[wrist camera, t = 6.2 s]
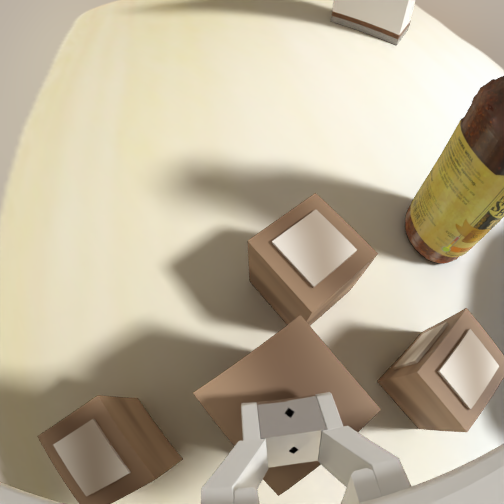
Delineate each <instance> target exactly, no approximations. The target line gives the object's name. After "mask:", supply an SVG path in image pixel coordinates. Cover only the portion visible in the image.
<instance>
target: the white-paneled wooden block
mask: <svg viewBox="0 0 504 504" xmlns="http://www.w3.org/2000/svg"><path fill="white" fill-rule="evenodd" d="M377 254H378V253H377V252H376V251H375V250H374V249H373V248H372V247H371V246H370V245H369V244H368V243H367V242H366V241H365V240H364V239H363V238H362V237H361V236H360V235H359V234H358V233H357V232H356V231H355V230H354V229H353V228H352V227H351V226H350V225H349V224H348V223H347V222H346V221H345V220H344V219H343V218H342V217H341V216H340V215H339V214H338V213H336V212H335V211H334V210H333V209H332V208H331V207H330V206H329V205H328V204H327V203H326V202H325V201H324V200H323V199H322V198H321V197H319V196H318V195H317V194H316V193H315V194H313V195H312V196H310V197H309V198H308V199H306V200H305V201H303V202H302V203H300V204H299V205H298V206H296V207H295V208H293V209H292V210H290V211H289V212H288V213H286V214H285V215H283V216H282V217H281V218H279V219H278V220H276V221H275V222H273V223H272V224H271V225H269V226H268V227H266V228H265V229H264V230H262V231H261V232H259V233H258V234H256V235H255V236H254V237H252V238H251V239H249V240H248V259H249V278H250V282H251V283H252V285H253V286H254V287H255V288H256V289H257V290H258V292H259V293H260V294H261V295H262V296H263V297H264V299H265V300H266V301H267V302H268V303H269V304H270V305H271V307H272V308H273V309H274V310H275V311H276V312H277V314H278V315H279V316H280V317H281V318H282V319H283V320H284V322H285V323H286V324H287V325H288V324H289V323H291V322H292V321H293V320H295V319H296V318H297V317H298V316H300V315H301V316H302V317H303V319H304V320H305V321H306V322H307V323H308V324H309V326H310V325H311V324H312V323H314V322H315V321H316V320H317V319H318V318H319V317H321V316H322V315H323V314H324V313H325V312H326V311H327V310H329V309H330V308H331V307H332V306H333V305H334V304H335V303H337V302H338V301H339V300H340V299H341V298H342V297H343V296H344V295H345V294H347V293H348V292H349V291H350V290H351V288H352V287H353V286H354V285H355V283H356V282H357V281H358V279H359V278H360V277H361V276H362V274H363V273H364V272H365V270H366V269H367V268H368V266H369V265H370V264H371V262H372V261H373V260H374V258H375V257H376V256H377Z"/></svg>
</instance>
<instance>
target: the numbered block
mask: <svg viewBox="0 0 504 504" xmlns="http://www.w3.org/2000/svg"><path fill="white" fill-rule="evenodd" d="M38 438H39V440H40V442H41V444H42V446H43V447H44V449H45V451H46V453H47V454H48V456H49V458H50V460H51V461H52V463H53V465H54V466H55V468H56V470H57V471H58V473H59V474H60V476H61V477H62V479H63V481H64V482H65V484H66V485H67V487H68V488H69V490H70V491H71V492H72V494H73V495H74V497H75V498H76V500H77V501H78V502H79V504H111V503H113V502H115V501H117V500H119V499H121V498H123V497H124V496H126V495H128V494H130V493H132V492H134V491H136V490H138V489H139V488H141V487H143V486H145V485H146V484H148V483H150V482H152V481H154V480H155V479H157V478H158V477H160V476H161V475H162V474H164V473H165V472H166V471H168V470H169V469H171V468H172V467H173V466H175V465H176V464H177V463H179V462H180V461H181V460H183V459H182V457H181V456H180V455H179V454H178V452H177V451H176V450H175V449H174V447H173V446H172V445H171V444H170V442H169V441H168V440H167V438H166V437H165V436H164V434H163V433H162V432H161V430H160V429H159V428H158V426H157V425H156V424H155V422H154V421H153V419H152V418H151V417H150V415H149V414H148V412H147V411H146V409H145V408H144V407H143V405H142V404H141V402H140V401H139V399H138V398H124V397H112V396H101V395H97V396H96V397H94V398H93V399H92V400H90V401H89V402H87V403H86V404H84V405H83V406H81V407H80V408H79V409H77V410H76V411H74V412H73V413H71V414H70V415H68V416H67V417H65V418H64V419H62V420H61V421H59V422H58V423H57V424H55V425H54V426H52V427H51V428H49V429H48V430H46V431H45V432H43V433H42V434H40V435H39V436H38Z"/></svg>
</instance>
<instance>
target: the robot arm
mask: <svg viewBox="0 0 504 504" xmlns="http://www.w3.org/2000/svg"><path fill="white" fill-rule="evenodd" d="M257 408H258V410H257ZM241 415H242V433H243V441H238V442H237V444H236V445H235V446H234V448H233V449H232V450H231V452H230V453H229V454H228V455H227V457H226V458H225V459H224V461H223V462H222V463H221V464H220V466H219V467H218V468H217V470H216V471H215V472H214V473H213V475H212V476H211V477H210V478H209V480H208V481H207V482H206V483H205V484H204V486H203V487H202V489H201V504H260V503H259V497H258V490H257V488H258V486H259V485H260V483H261V481H262V480H263V478H264V476H265V474H266V472H267V471H268V468H269V467H277V466H284V465H290V464H297V463H305V462H312V461H318V462H319V463H320V464H321V465H322V466H323V467H324V468H326V469H327V470H328V471H329V472H330V473H331V474H332V475H333V476H334V477H336V478H337V479H338V480H339V481H340V482H341V483H342V484H344V485H345V486H346V487H347V489H346V491H345V494H344V497H343V499H342V502H341V504H504V444H502V445H500V446H499V447H497V448H495V449H493V450H492V451H490V452H488V453H486V454H484V455H482V456H480V457H479V458H477V459H475V460H473V461H471V462H469V463H467V464H465V465H462V466H460V467H458V468H456V469H454V470H452V471H449V472H447V473H445V474H443V475H440V476H438V477H435V478H433V479H431V480H428V481H426V482H423V483H420V484H418V485H415V486H412V487H411V485H410V482H409V480H408V478H407V475H406V473H405V471H404V469H403V466H402V464H401V462H400V460H399V458H398V457H396V456H395V455H393V454H391V453H390V452H388V451H386V450H385V449H383V448H382V447H380V446H378V445H377V444H375V443H374V442H372V441H370V440H369V439H367V438H366V437H364V436H363V435H361V434H360V433H358V432H357V431H355V430H353V429H352V428H350V427H349V426H343V424H342V421H341V418H340V416H339V413H338V410H337V407H336V405H335V402H334V399H333V396H332V394H331V393H330V392H327V393H321V394H315V395H308V396H302V397H295V398H289V399H283V400H272V401H261V402H250V403H242V404H241ZM258 418H259V419H258ZM0 504H65V503H61V502H58V501H54V500H51V499H47V498H44V497H41V496H38V495H35V494H32V493H29V492H26V491H23V490H20V489H18V488H15V487H12V486H10V485H7V484H5V483H2V482H0Z"/></svg>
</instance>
